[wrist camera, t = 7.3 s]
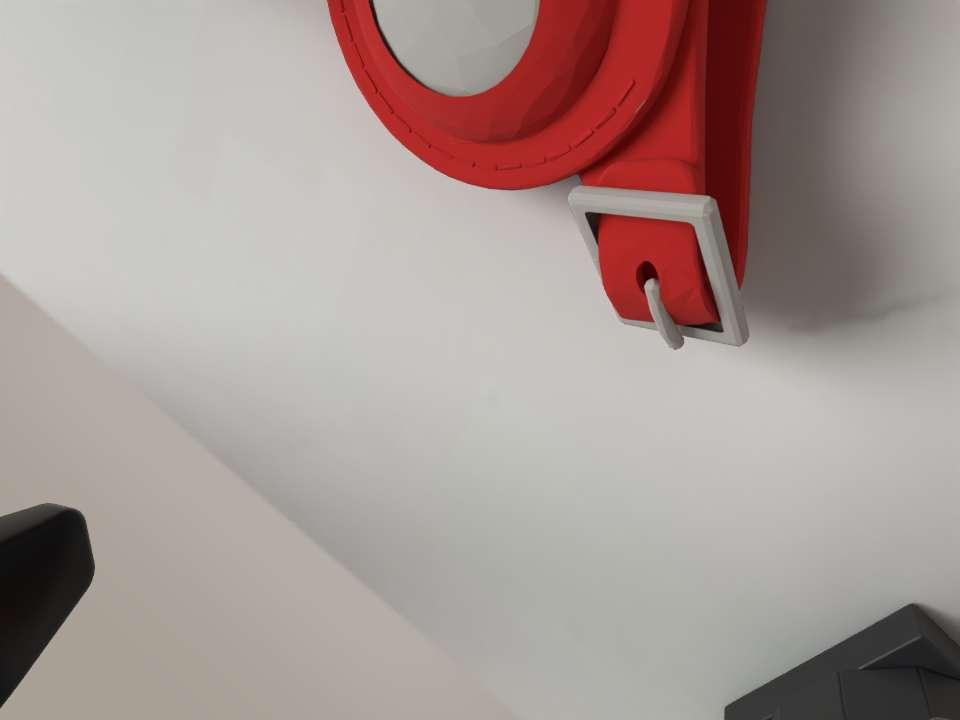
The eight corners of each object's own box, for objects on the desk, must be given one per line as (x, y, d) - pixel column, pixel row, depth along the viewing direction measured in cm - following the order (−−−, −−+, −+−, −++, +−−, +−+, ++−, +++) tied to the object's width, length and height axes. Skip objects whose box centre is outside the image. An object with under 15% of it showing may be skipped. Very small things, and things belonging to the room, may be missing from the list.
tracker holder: (238, 62, 18) (372, -584, 11) (373, 38, 21) (543, -474, 14) (657, 438, 15) (1171, -96, 8) (738, 347, 18) (1159, -95, 11)
